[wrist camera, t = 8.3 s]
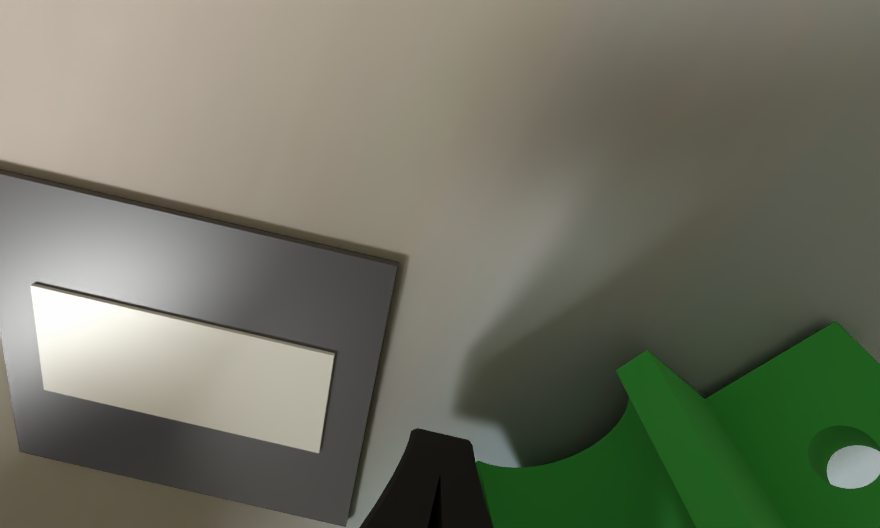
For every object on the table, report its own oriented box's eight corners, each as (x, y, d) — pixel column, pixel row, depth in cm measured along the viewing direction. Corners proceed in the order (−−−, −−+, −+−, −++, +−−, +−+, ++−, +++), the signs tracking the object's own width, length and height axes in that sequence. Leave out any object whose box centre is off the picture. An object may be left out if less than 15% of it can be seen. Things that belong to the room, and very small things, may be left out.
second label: (25, 446, 15) (17, 454, 15) (-19, 165, 11) (-32, 168, 11) (347, 520, 15) (344, 530, 15) (398, 262, 12) (396, 268, 11)
